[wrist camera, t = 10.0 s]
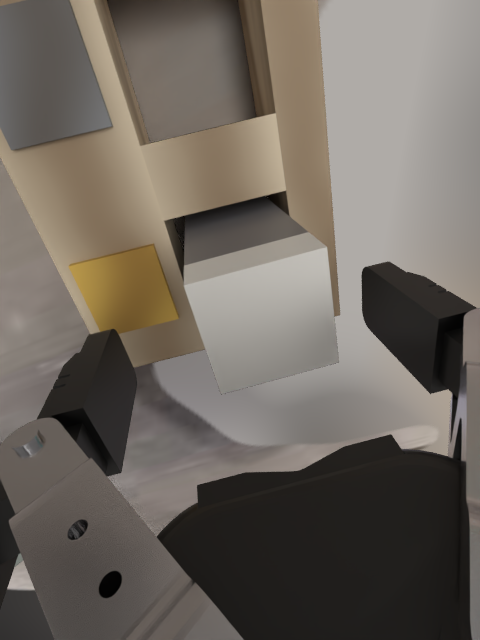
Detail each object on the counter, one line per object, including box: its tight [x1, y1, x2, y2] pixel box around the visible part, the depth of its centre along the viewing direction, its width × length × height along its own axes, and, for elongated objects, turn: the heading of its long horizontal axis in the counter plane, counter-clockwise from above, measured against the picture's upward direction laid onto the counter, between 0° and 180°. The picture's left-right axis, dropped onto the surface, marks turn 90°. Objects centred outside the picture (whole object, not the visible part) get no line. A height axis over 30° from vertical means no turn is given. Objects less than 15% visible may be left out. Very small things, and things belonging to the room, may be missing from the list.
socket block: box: [0, 0, 340, 367], centre depth 15 cm, size 12×16×4 cm
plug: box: [184, 196, 339, 395], centre depth 15 cm, size 4×4×10 cm
